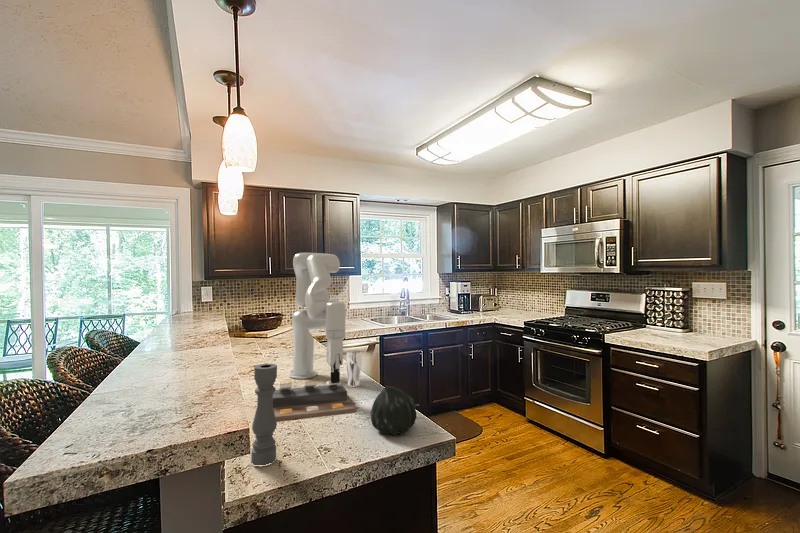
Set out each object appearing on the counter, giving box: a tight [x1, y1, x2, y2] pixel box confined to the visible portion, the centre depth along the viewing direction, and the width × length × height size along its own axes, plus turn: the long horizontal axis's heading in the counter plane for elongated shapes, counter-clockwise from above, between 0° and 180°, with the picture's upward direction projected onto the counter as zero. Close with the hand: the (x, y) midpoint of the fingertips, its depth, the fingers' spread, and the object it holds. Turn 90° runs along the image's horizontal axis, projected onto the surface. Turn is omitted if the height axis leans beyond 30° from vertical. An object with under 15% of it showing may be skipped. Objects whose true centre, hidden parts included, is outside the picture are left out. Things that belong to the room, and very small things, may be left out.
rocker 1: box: [278, 382, 293, 390], centre depth 138 cm, size 8×4×1 cm, turn 20°
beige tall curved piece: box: [345, 349, 363, 388], centre depth 165 cm, size 7×7×15 cm
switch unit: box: [273, 383, 357, 422], centre depth 139 cm, size 22×30×6 cm
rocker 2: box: [302, 380, 318, 387], centre depth 142 cm, size 8×4×1 cm, turn 20°
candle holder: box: [250, 363, 278, 465], centre depth 98 cm, size 6×6×25 cm
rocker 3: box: [325, 379, 342, 385], centre depth 145 cm, size 8×4×2 cm, turn 20°
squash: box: [370, 385, 418, 436], centre depth 118 cm, size 14×15×15 cm
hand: (335, 382), depth 141 cm, fingers closed
